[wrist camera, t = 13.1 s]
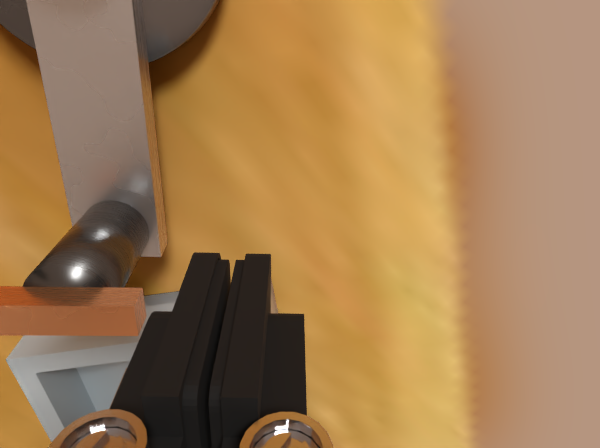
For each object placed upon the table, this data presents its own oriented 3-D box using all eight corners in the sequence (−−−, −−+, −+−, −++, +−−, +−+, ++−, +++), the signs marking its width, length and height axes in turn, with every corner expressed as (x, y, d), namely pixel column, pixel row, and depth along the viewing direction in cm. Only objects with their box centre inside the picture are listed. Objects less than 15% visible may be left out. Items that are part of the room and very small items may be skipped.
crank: (-11, -158, 12) (-240, -273, 7) (148, -151, 12) (47, -256, 7) (73, 244, 17) (-20, 355, 12) (184, 245, 17) (141, 356, 12)
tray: (303, 438, 24) (306, 495, 21) (116, 462, 24) (95, 520, 22) (271, 278, 20) (269, 324, 17) (43, 310, 20) (5, 359, 17)
